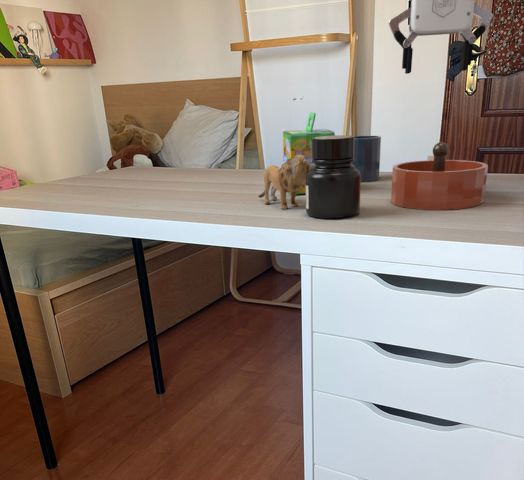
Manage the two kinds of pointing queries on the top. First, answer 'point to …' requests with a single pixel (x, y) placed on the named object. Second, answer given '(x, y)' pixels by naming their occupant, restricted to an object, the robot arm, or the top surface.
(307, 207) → the ink bottle
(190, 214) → the top surface
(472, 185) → the bowl
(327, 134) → the green juice box
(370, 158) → the cup
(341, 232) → the top surface
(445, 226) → the top surface
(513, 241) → the top surface
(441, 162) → the holder post
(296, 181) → the lion figurine
